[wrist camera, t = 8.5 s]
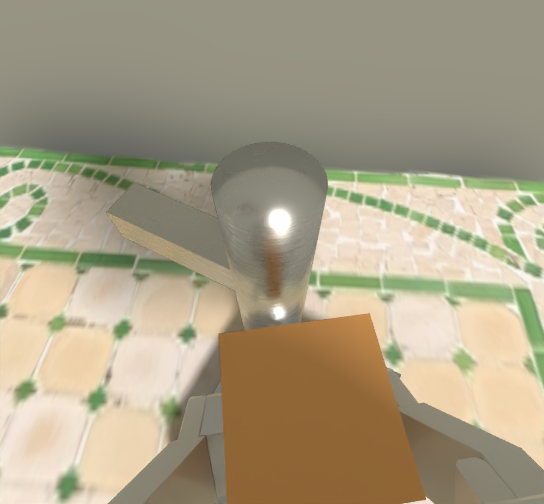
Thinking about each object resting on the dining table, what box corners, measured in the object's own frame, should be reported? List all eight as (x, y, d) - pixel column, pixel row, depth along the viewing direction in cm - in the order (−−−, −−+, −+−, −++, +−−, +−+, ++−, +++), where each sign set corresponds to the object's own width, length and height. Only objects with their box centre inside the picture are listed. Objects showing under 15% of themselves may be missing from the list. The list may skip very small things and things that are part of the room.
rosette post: (100, 430, 27) (-297, 373, 8) (197, 290, 33) (99, 79, 15) (323, 581, 22) (591, 1270, 3) (385, 384, 29) (597, 249, 10)
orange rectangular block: (261, 483, 13) (228, 533, 5) (254, 406, 14) (218, 333, 6) (331, 472, 13) (425, 499, 5) (317, 396, 15) (369, 313, 6)
